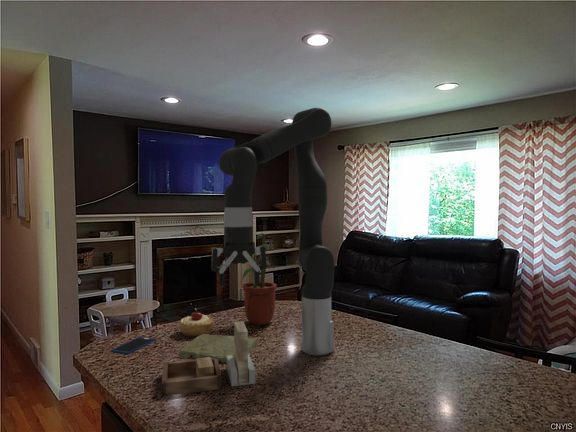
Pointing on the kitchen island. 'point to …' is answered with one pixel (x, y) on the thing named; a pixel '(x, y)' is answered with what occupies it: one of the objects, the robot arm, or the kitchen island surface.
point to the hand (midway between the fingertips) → (239, 286)
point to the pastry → (196, 325)
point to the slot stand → (234, 376)
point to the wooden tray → (188, 378)
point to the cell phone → (133, 345)
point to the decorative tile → (213, 347)
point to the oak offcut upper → (204, 367)
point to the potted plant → (259, 295)
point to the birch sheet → (241, 351)
